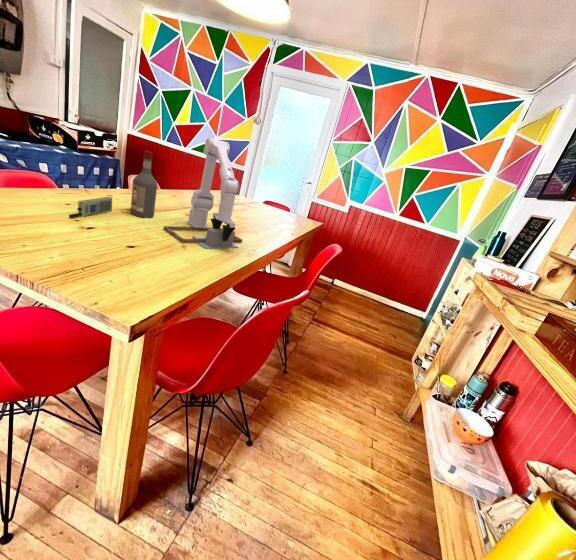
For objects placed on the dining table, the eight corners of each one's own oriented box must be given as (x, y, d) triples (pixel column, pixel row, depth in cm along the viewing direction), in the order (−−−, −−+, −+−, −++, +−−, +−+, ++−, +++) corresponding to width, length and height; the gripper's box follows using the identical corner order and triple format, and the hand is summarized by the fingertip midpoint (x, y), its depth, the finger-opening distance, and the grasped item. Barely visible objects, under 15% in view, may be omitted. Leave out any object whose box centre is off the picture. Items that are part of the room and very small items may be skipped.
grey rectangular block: (204, 243, 141) (207, 228, 139) (227, 243, 150) (230, 229, 147) (209, 246, 139) (212, 231, 136) (232, 246, 147) (235, 232, 145)
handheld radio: (113, 212, 150) (74, 220, 127) (106, 210, 151) (66, 218, 127) (113, 197, 148) (74, 203, 125) (106, 196, 148) (66, 201, 125)
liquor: (145, 212, 163) (151, 151, 152) (156, 218, 159) (163, 155, 148) (128, 212, 155) (133, 147, 145) (138, 218, 151) (145, 152, 141)
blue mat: (197, 243, 140) (197, 242, 140) (231, 243, 153) (231, 242, 153) (204, 248, 136) (204, 247, 136) (238, 248, 149) (238, 247, 149)
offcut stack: (191, 238, 146) (192, 235, 145) (220, 239, 156) (221, 236, 156) (196, 241, 143) (196, 238, 143) (225, 242, 153) (225, 239, 153)
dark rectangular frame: (163, 229, 145) (163, 226, 145) (222, 231, 168) (222, 228, 168) (181, 243, 135) (182, 239, 134) (241, 242, 158) (242, 239, 158)
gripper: (208, 202, 140) (203, 232, 144) (227, 212, 131) (221, 243, 136) (222, 203, 145) (217, 232, 150) (241, 213, 136) (235, 243, 141)
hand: (220, 237), depth 143 cm, fingers open, 7 cm apart
